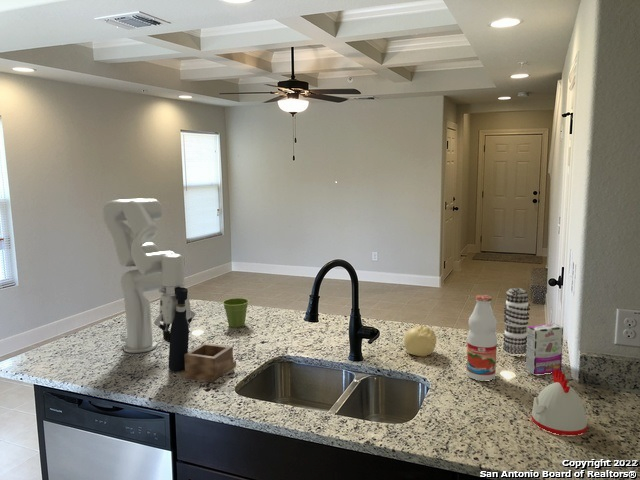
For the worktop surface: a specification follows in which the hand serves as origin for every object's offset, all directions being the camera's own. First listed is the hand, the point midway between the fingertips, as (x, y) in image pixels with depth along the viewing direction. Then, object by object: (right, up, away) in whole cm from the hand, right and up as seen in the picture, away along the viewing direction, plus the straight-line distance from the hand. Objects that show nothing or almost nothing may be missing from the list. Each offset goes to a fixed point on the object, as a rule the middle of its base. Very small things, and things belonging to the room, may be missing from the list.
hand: (176, 338), depth 181 cm
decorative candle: (+125, -8, +14) cm, 126 cm away
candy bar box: (+128, -11, -4) cm, 129 cm away
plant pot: (+13, -4, +51) cm, 52 cm away
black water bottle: (0, -11, +2) cm, 11 cm away
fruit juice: (+105, -12, -8) cm, 106 cm away
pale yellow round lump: (+89, -9, +14) cm, 91 cm away
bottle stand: (+12, -11, -1) cm, 16 cm away
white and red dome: (+117, -16, -39) cm, 125 cm away
